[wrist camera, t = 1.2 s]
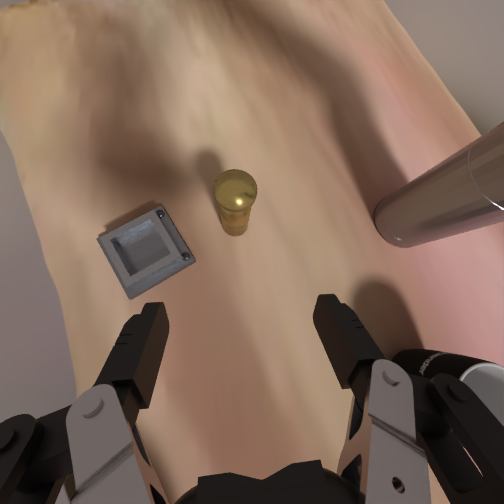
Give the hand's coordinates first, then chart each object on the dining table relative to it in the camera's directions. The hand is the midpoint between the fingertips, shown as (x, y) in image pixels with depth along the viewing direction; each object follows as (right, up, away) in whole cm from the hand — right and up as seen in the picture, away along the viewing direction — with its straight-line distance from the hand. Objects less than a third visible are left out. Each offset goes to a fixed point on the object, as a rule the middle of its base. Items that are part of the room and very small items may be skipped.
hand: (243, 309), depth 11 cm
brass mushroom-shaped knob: (-2, +7, +21) cm, 23 cm away
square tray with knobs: (-15, +3, +19) cm, 24 cm away
